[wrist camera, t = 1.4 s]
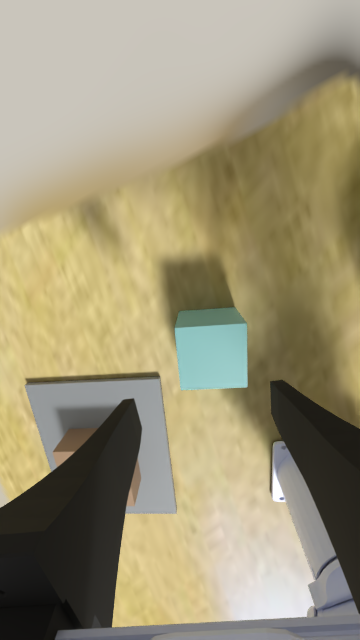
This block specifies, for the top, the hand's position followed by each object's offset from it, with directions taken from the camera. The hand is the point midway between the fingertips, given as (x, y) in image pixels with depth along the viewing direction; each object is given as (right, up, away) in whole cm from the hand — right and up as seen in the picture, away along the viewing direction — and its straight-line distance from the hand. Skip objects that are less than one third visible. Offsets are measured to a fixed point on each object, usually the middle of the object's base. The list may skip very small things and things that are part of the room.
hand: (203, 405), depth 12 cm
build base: (-9, -10, +14) cm, 20 cm away
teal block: (+1, +3, +9) cm, 10 cm away
